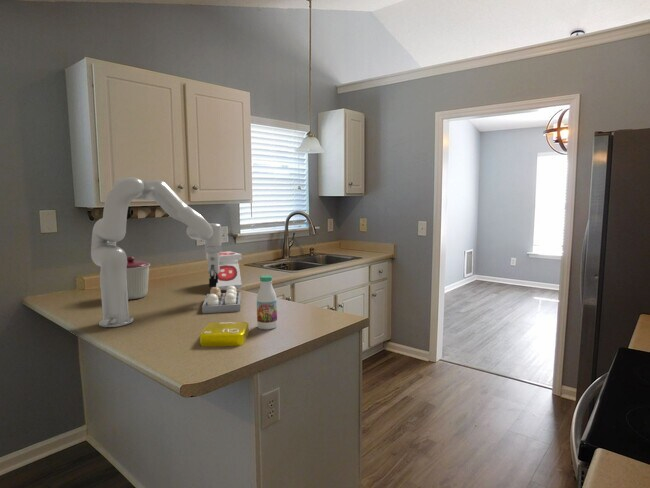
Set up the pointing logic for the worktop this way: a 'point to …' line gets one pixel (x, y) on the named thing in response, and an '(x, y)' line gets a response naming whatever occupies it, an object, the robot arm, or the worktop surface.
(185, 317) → the worktop surface
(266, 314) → the milk bottle
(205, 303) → the egg carton
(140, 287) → the canister
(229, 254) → the pizza boxes
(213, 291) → the brown egg
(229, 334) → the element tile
